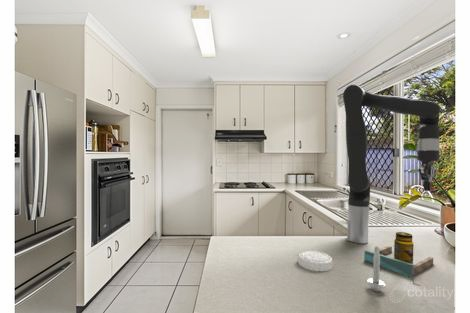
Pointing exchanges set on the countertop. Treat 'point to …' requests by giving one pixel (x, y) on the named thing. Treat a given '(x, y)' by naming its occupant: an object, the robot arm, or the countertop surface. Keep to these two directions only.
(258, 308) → the countertop surface
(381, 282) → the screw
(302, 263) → the mooncake
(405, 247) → the condiment
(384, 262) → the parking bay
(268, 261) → the countertop surface
